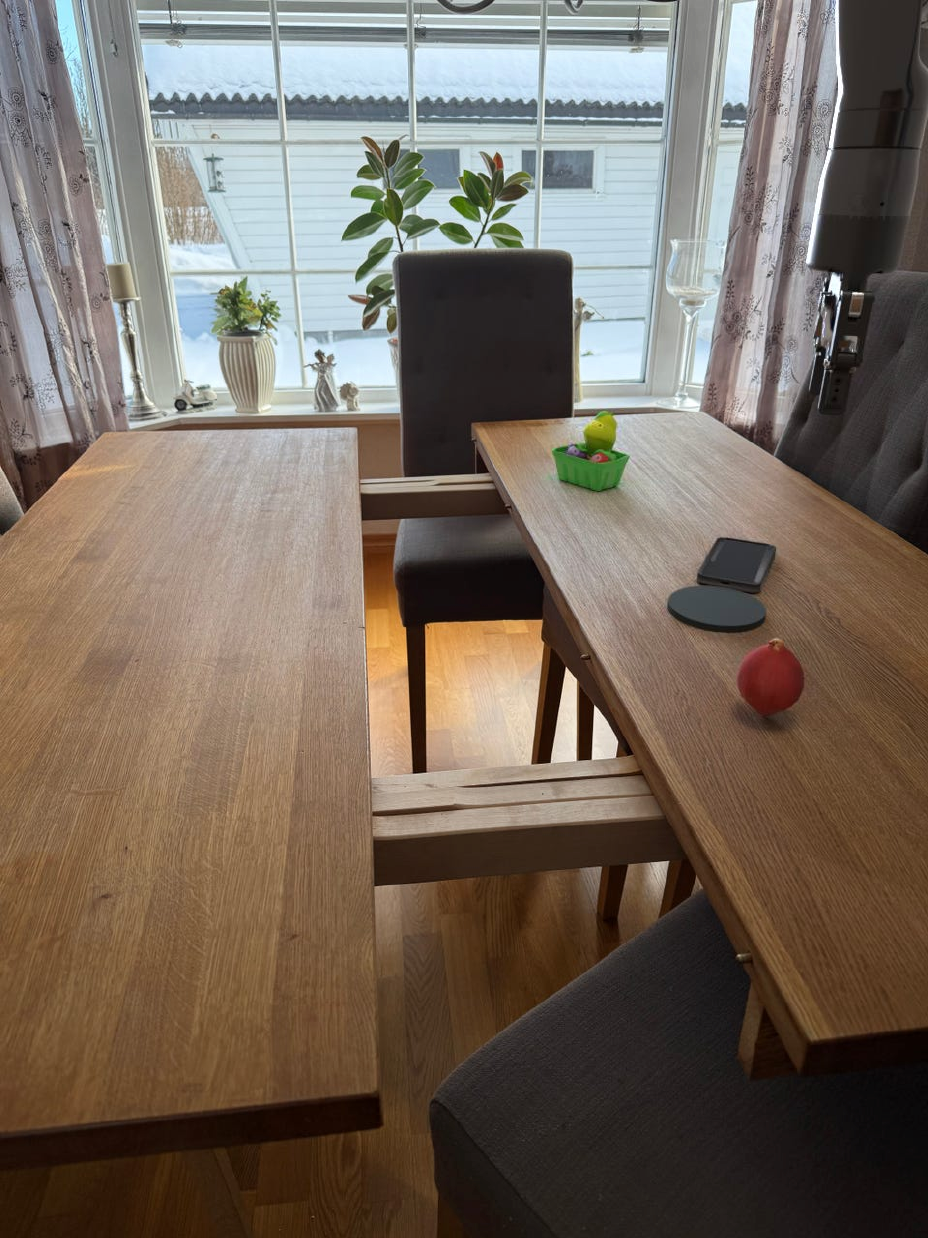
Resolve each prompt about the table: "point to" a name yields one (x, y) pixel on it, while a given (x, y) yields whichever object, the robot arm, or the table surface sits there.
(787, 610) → the table surface
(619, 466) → the fruit basket
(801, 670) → the onion
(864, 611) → the table surface
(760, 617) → the dark grey flat disc
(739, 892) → the table surface
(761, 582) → the phone
